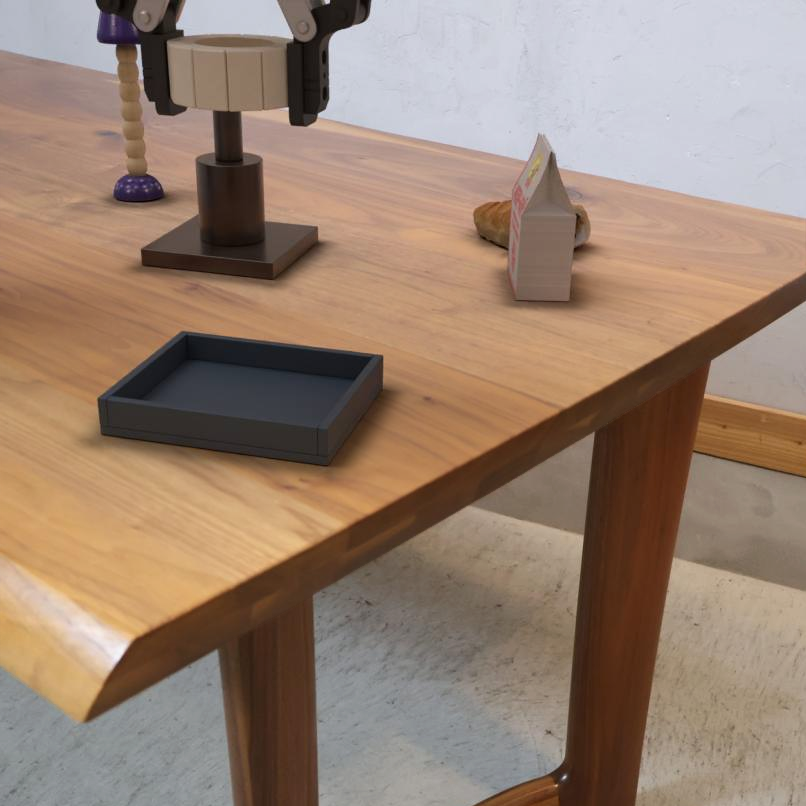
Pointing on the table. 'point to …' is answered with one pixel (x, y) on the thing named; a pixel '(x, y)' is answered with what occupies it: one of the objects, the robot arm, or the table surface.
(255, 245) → the stand
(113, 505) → the table surface
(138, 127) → the toy lamp
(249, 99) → the ring
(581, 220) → the pastry
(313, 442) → the tray
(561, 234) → the milk carton
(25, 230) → the table surface
